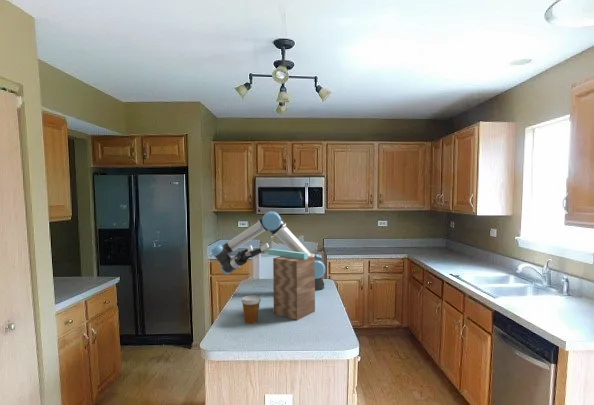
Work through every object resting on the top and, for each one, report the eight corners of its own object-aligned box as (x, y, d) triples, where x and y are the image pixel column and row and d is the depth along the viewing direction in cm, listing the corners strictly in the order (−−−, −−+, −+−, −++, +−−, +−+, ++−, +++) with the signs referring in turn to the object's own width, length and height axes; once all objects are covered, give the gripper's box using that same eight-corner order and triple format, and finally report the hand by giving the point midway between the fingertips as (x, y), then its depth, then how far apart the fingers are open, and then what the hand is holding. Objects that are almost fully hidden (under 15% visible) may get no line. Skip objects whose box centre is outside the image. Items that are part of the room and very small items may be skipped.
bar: (267, 254, 185) (267, 249, 185) (271, 253, 187) (271, 248, 187) (304, 259, 169) (304, 253, 169) (307, 258, 171) (307, 253, 171)
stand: (273, 313, 174) (273, 258, 173) (292, 305, 186) (291, 254, 186) (297, 320, 164) (296, 261, 164) (315, 311, 177) (314, 256, 176)
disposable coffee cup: (245, 326, 156) (245, 301, 156) (239, 320, 165) (239, 296, 165) (263, 322, 161) (263, 298, 161) (256, 316, 169) (256, 294, 169)
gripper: (255, 262, 211) (276, 249, 200) (225, 269, 192) (246, 254, 180) (251, 252, 214) (271, 238, 202) (221, 257, 194) (242, 242, 183)
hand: (260, 246), depth 191 cm, fingers open, 13 cm apart
